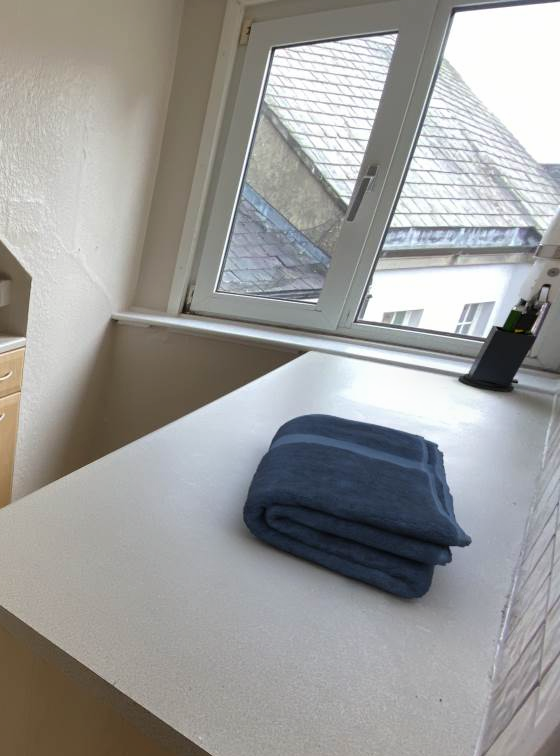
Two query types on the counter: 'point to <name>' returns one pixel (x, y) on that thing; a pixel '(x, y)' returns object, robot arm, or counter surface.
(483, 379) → the waste bin
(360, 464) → the towel
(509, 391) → the turntable
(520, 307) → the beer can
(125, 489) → the counter surface
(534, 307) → the robot arm
